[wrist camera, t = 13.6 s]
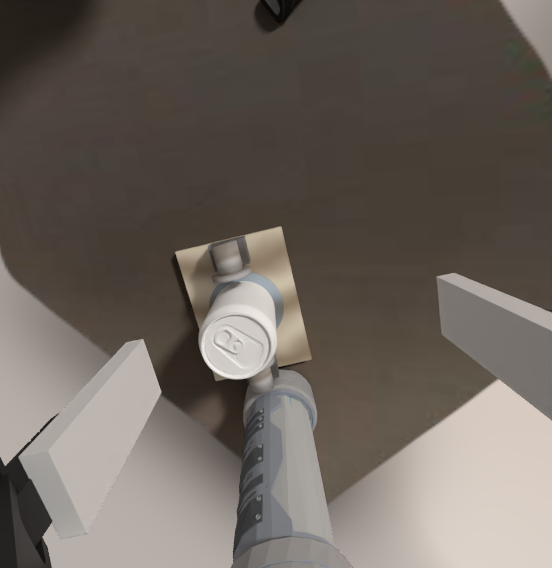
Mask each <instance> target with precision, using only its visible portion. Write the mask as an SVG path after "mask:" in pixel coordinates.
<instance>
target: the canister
mask: <svg viewBox="0 0 552 568" xmlns="http://www.w3.org/2000/svg"><path fill="white" fill-rule="evenodd" d="M273 380H274V384H275V385H274V387H273V389H271V390H270V391H268V392H266V393H263V394H256V393H253V392H252V389H251V385H250V384H249V386H248V388H247V392H246V397H245V403H244V411H243V422H244V426H245V429H246V431H245V435H244V444H243V445H244V449H243V461H242V471H241V476H240V486H239V492H240V496H239V504H238V508H237V526H236V530H235V538H234V548H233V565H232V567H231V568H353V567H352V565H351V564H350V563H349V561H348V560H347V559H346V557H345V556H344V555H343V554H342V553H340V551H339V550H338V549H337V548H336V547H335V545H334V539H333V535H332V529H331V524H330V519H329V514H328V509H327V504H326V499H325V494H324V489H323V484H322V479H321V474H320V469H319V463H318V458H317V453H316V448H315V443H314V438H313V433H312V432H313V430H314V428H315V426H316V423H317V410H316V405H315V402H314V397H313V393H312V390H311V386H310V385H309V383H308V382H307V380H306V379H305V378H304V377H303V376H302V375H300V374H299V373H297V372H295V371H293V370H291V371H289V370H279V377H278V378H273Z"/></svg>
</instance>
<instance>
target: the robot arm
mask: <svg viewBox="0 0 552 568" xmlns="http://www.w3.org/2000/svg"><path fill="white" fill-rule="evenodd" d="M437 286H438V298H439V309H440V321H441V333H442V335H443V336H445V337H446V338H447V339H448V340H450V341H451V342H452V343H454V344H455V345H456V346H457V347H459V348H460V349H461V350H462V351H464V352H465V353H466V354H468V355H469V356H470V357H471V358H473V359H474V360H475V361H477V362H478V363H479V364H480V365H482V366H483V367H484V368H485V369H487V370H488V371H489V372H491V373H492V374H493V375H494V376H496V377H497V378H498V379H500V380H501V381H502V382H504V383H505V384H506V385H507V386H509V387H510V388H511V389H512V390H514V391H515V392H516V393H517V394H519V395H520V396H522V397H523V398H524V399H525V400H526V401H528V402H529V403H530V404H532V405H533V406H534V407H535V408H537V409H538V410H539V411H540V412H542V413H543V414H544V415H546V416H547V417H548V418H549V419H551V420H552V310H548V309H543V308H539V307H537V306H534V305H532V304H529V303H527V302H524V301H522V300H519V299H517V298H515V297H512V296H510V295H507V294H505V293H502V292H500V291H497V290H495V289H492V288H490V287H488V286H485V285H483V284H480V283H478V282H475V281H473V280H470V279H468V278H465V277H463V276H460V275H458V274H456V273H451V274H447V275H442V276H437ZM161 393H162V392H161V389H160V386H159V384H158V381H157V378H156V375H155V372H154V369H153V366H152V363H151V361H150V358H149V355H148V352H147V349H146V346H145V343H144V340H143V339H140V340H135V341H131V342H126V343H125V344H124V345H123V346H122V347H121V349H120V350H119V351H118V352H117V353H116V354H115V355H114V356H113V357H112V358H111V359H110V360H109V361H108V362H107V363H106V364H105V366H104V367H103V368H102V369H101V370H100V371H99V372H98V373H97V374H96V375H95V376H94V377H93V378H92V379H91V380H90V382H89V383H88V384H87V385H86V386H85V387H84V388H83V389H82V390H81V391H80V392H79V393H78V394H77V395H76V396H75V397H74V398H73V399H72V401H71V402H70V403H69V404H68V405H67V406H66V407H65V408H64V409H63V410H62V411H61V412H60V413H58V414H57V415H56V416H54V417H53V418H51V419H50V420H49V421H48V422H47V423H46V424H45V425H44V426H43V428H42V429H41V430H40V432H38V433H37V434H36V435H35V436H34V437H33V438H32V439H31V442H28V443H27V444H26V445H25V446H24V447H23V448H22V449H21V450H20V452H19V453H18V454H17V455H16V456H15V457H14V458H13V459H12V460H11V461H10V462H9V463H8V464H7V465H6V466H4V464H3V462H2V460H1V458H0V568H52V567H51V562H50V557H49V552H48V548H47V545H46V544H45V542H44V540H43V538H42V536H43V535H44V533H45V532H46V530H47V529H48V527H49V526H50V524H51V523H52V524H53V527H54V528H55V530H56V532H57V534H58V536H59V538H60V539H65V538H70V537H75V536H80V535H85V534H88V532H89V530H90V528H91V526H92V524H93V522H94V520H95V519H96V517H97V515H98V513H99V511H100V509H101V507H102V505H103V503H104V501H105V500H106V498H107V495H108V494H109V492H110V490H111V488H112V486H113V484H114V482H115V480H116V479H117V477H118V475H119V473H120V471H121V469H122V467H123V465H124V463H125V461H126V459H127V458H128V456H129V454H130V452H131V450H132V448H133V446H134V444H135V442H136V440H137V438H138V436H139V434H140V433H141V431H142V429H143V427H144V425H145V423H146V421H147V419H148V417H149V415H150V413H151V412H152V410H153V408H154V406H155V404H156V402H157V400H158V398H159V396H160V395H161Z"/></svg>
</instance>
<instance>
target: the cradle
mask: <svg viewBox="0 0 552 568" xmlns="http://www.w3.org/2000/svg"><path fill="white" fill-rule="evenodd" d="M175 253H176V257H177V260H178V263H179V266H180V269H181V272H182V276H183V279H184V282H185V285H186V288H187V292H188V295H189V298H190V301H191V304H192V307H193V311H194V314H195V317H196V320H197V323H198V326H199V330H200V328H201V326H202V324H203V322H204V320H205V318H206V316H207V314H208V312H209V310H210V309H211V307H212V305H213V303H214V301H215V299H216V297H217V295H218V294H219V293H220V291H221V290H222V289H223V288H225V287H226V286H228V285H229V284H231V283H234V282H238V281H249V282H253V283H256V284H258V285H260V286H262V287H263V288H264V289H266V290H267V292H268V293H269V294H270V295H271V297H272V299H273V302H274V306H275V317H276V330H277V347H276V351H275V354H274V356H273V358H272V360H271V361H270V362H269V364H268V365H267V366H266V367H265V368H264V369H263V370H262V371H260V372H259V373H258V374H256V375H254V376H252V377H249V378H246V381H247V384H250V385H251V389H252V392H253V393H256V394H263V393H266V392H268V391H270V390H271V389H273V387H274V385H275V384H274V380H273V378H278V377H279V367H281V366H285V365H289V364H294V363H298V362H303V361H307V360H311V359H312V358H311V354H310V350H309V345H308V341H307V337H306V332H305V328H304V324H303V319H302V315H301V310H300V306H299V302H298V297H297V293H296V289H295V284H294V280H293V276H292V271H291V267H290V263H289V258H288V254H287V250H286V245H285V241H284V237H283V232H282V228H281V226H279V227H275V228H271V229H267V230H263V231H259V232H254V233H250V234H246V235H242V236H238V237H234V238H230V239H226V240H221V241H217V242H213V243H209V244H205V245H201V246H197V247H192V248H188V249H184V250H180V251H177V252H175ZM212 371H213V370H212ZM213 374H214V377H215V381H219V380H224V379H228V378H225V377H222V376H220V375H218V374H217V373H215V372H214V371H213Z"/></svg>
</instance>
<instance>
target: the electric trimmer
mask: <svg viewBox="0 0 552 568" xmlns="http://www.w3.org/2000/svg"><path fill="white" fill-rule="evenodd" d="M261 2H262V3H263V5H264V6H265V7H266V8H267V10H268V11H269V12H270V14H271V15H272V16H273V17H274V19H275V20H276V21H277V22H280V21H281V20H282V19H283V20H285V19H286V18H287V17H288V16H289V15H290V13H291V11H292V9H293V6H294V4H295V2H296V0H261Z"/></svg>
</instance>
